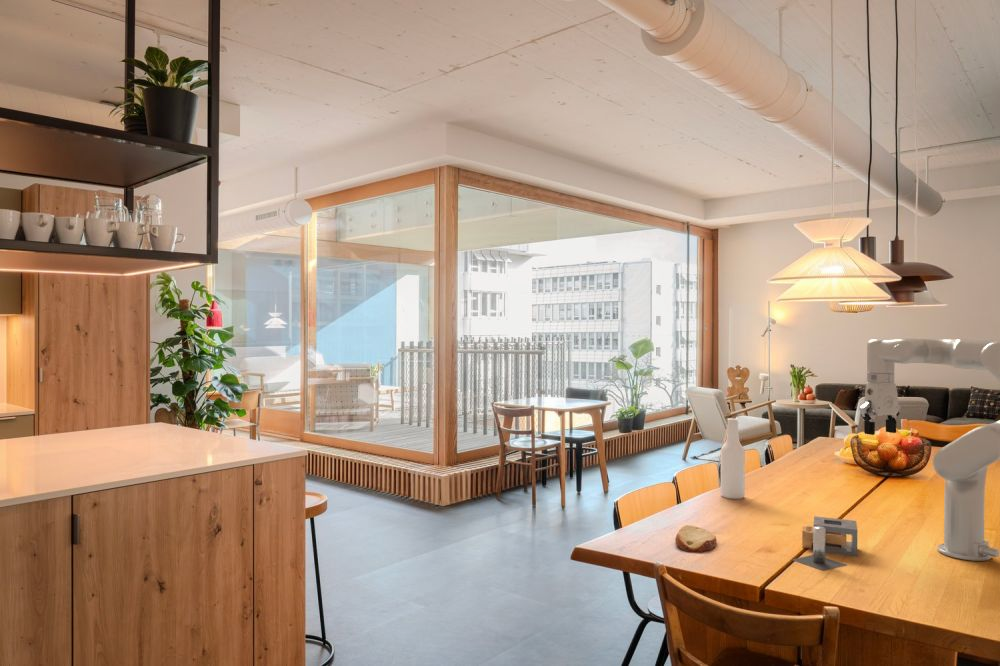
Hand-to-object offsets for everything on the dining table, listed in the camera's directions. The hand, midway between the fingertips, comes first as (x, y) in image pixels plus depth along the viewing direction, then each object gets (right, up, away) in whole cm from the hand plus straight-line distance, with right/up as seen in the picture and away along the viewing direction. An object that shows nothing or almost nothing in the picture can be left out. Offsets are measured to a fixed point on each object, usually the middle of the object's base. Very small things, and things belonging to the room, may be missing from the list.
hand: (880, 433), depth 214 cm
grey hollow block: (-22, -32, -15) cm, 41 cm away
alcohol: (-29, -32, +49) cm, 66 cm away
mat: (-31, -32, -27) cm, 52 cm away
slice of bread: (-61, -32, -7) cm, 69 cm away
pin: (-31, -31, -27) cm, 52 cm away
